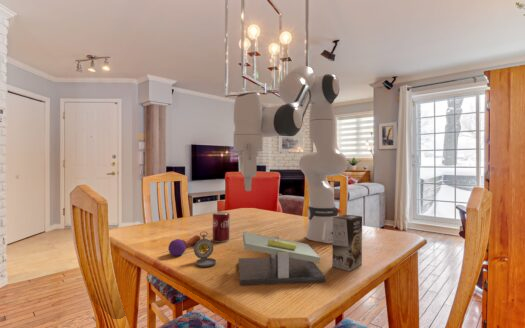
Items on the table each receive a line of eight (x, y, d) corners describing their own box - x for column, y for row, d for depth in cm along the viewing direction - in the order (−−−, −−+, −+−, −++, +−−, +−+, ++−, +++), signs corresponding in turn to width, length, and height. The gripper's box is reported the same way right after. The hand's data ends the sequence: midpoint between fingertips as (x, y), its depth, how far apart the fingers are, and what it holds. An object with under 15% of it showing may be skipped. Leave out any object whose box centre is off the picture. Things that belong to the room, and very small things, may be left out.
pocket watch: (206, 269, 89) (206, 237, 89) (187, 264, 94) (187, 234, 94) (223, 261, 96) (223, 232, 96) (204, 257, 101) (205, 229, 101)
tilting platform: (306, 248, 96) (308, 238, 96) (319, 263, 82) (321, 250, 82) (242, 236, 93) (244, 226, 93) (244, 249, 79) (247, 236, 79)
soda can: (231, 238, 126) (231, 211, 127) (227, 243, 119) (227, 214, 119) (215, 238, 127) (215, 211, 127) (210, 242, 120) (210, 214, 120)
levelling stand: (308, 260, 98) (308, 235, 98) (325, 282, 80) (325, 251, 80) (238, 262, 95) (238, 237, 95) (240, 285, 77) (240, 254, 77)
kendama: (204, 234, 119) (182, 243, 100) (201, 248, 119) (178, 259, 100) (191, 230, 121) (167, 238, 101) (188, 244, 120) (163, 255, 101)
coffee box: (350, 272, 87) (350, 219, 87) (331, 266, 92) (331, 217, 92) (362, 264, 94) (363, 215, 94) (344, 260, 98) (345, 213, 99)
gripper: (261, 142, 77) (261, 193, 77) (255, 147, 97) (255, 187, 97) (238, 142, 76) (238, 194, 76) (237, 147, 96) (236, 187, 96)
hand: (247, 190), depth 87 cm, fingers closed
